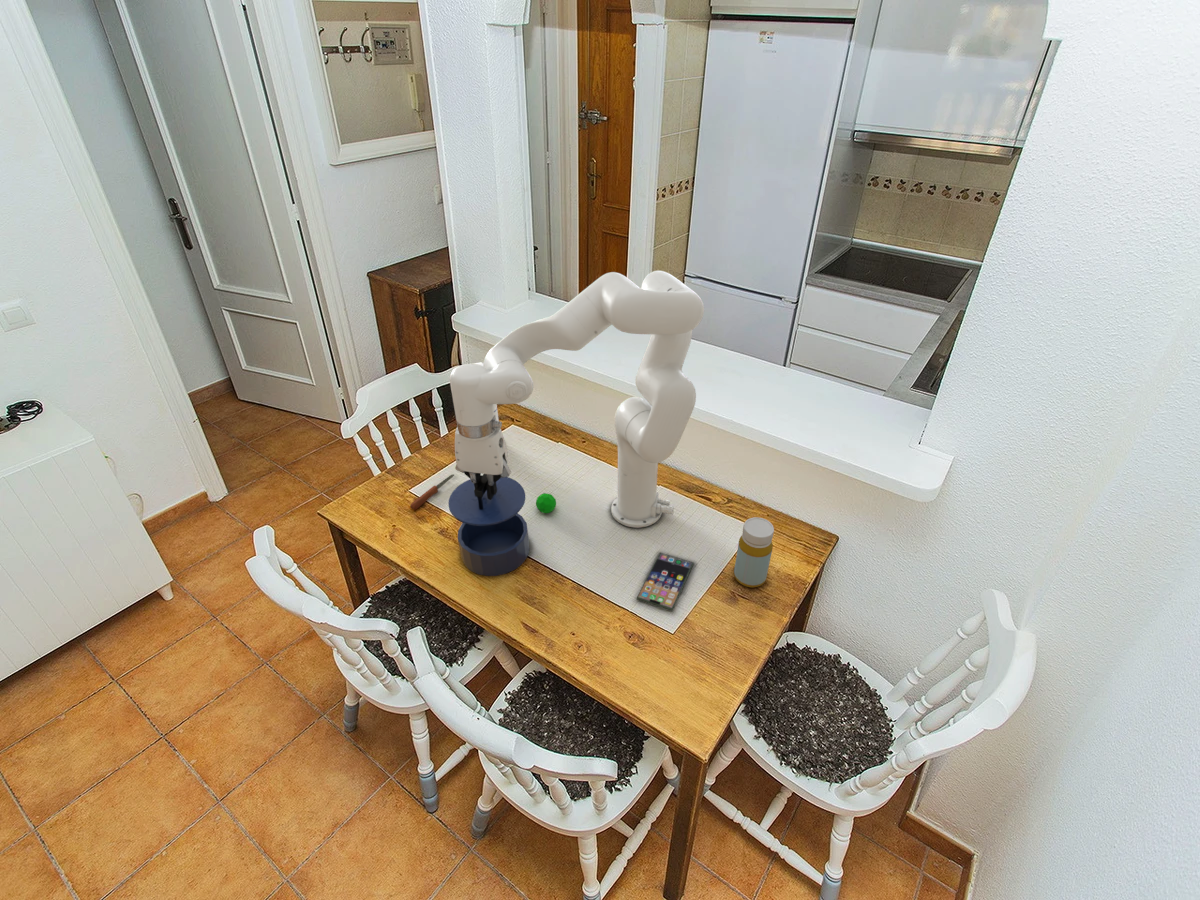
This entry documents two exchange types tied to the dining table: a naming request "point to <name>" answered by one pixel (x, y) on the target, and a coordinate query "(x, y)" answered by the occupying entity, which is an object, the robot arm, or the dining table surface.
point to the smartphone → (665, 581)
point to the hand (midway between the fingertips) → (486, 494)
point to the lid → (486, 502)
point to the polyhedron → (546, 503)
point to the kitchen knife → (428, 494)
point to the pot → (494, 546)
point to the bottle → (754, 552)
